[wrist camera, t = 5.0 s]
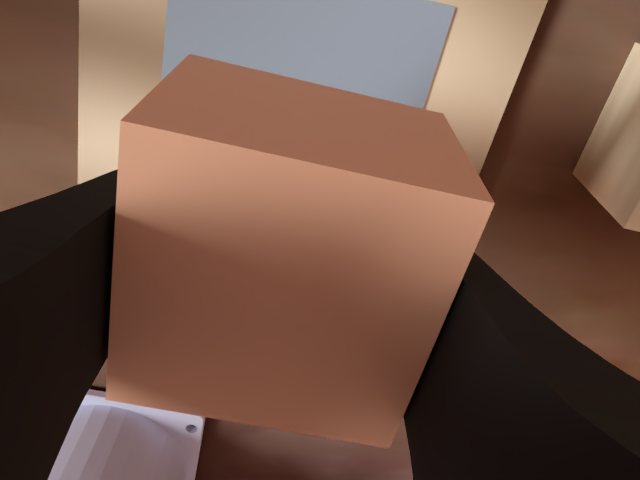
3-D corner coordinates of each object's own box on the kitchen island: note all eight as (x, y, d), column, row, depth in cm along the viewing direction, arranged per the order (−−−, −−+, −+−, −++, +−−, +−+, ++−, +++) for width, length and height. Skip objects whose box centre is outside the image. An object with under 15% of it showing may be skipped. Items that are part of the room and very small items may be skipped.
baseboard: (422, 302, 22) (425, 313, 21) (83, 236, 21) (76, 246, 20) (567, -70, 16) (576, -70, 15) (89, -198, 14) (78, -203, 14)
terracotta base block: (374, 312, 13) (389, 448, 10) (165, 271, 13) (105, 399, 10) (443, 113, 11) (494, 203, 8) (189, 53, 11) (119, 120, 7)
